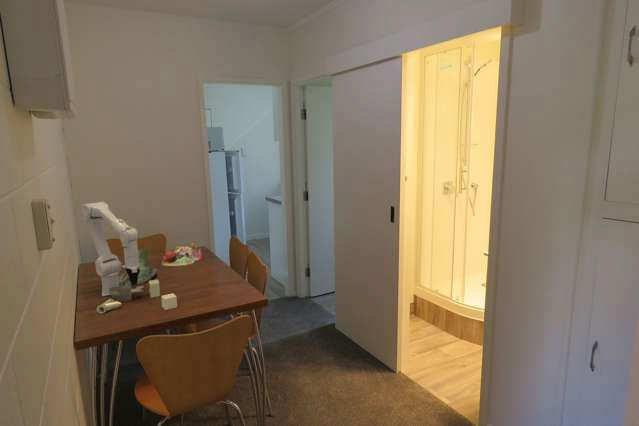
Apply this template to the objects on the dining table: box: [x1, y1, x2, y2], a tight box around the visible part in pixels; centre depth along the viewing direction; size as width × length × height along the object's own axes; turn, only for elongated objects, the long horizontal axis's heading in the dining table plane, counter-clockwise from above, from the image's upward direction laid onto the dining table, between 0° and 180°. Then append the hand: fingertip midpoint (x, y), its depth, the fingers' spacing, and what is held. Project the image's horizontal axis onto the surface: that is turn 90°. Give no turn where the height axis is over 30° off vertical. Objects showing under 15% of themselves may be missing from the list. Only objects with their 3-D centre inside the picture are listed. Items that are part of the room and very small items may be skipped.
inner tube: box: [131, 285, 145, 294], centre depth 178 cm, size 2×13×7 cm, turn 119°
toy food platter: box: [161, 243, 203, 267], centre depth 243 cm, size 25×24×9 cm
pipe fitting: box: [96, 298, 122, 315], centre depth 167 cm, size 8×4×7 cm
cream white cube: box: [160, 293, 178, 311], centre depth 169 cm, size 5×5×5 cm
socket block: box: [148, 279, 161, 298], centre depth 184 cm, size 6×4×6 cm, turn 29°
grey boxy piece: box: [109, 285, 133, 304], centre depth 177 cm, size 5×8×6 cm, turn 119°
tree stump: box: [118, 248, 158, 287], centre depth 207 cm, size 19×21×19 cm
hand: (133, 283), depth 179 cm, fingers closed on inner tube, 2 cm apart
